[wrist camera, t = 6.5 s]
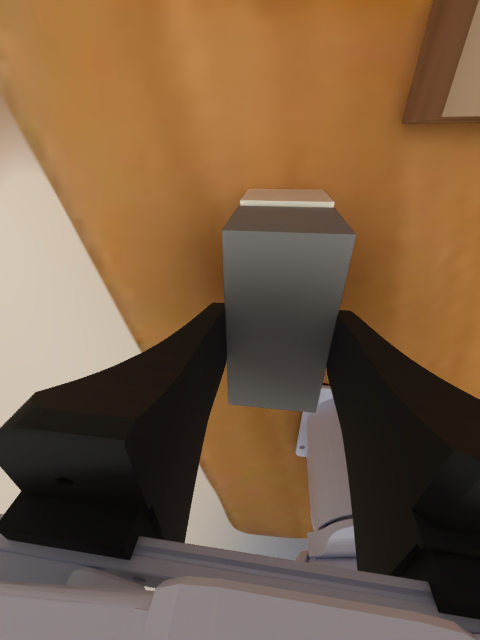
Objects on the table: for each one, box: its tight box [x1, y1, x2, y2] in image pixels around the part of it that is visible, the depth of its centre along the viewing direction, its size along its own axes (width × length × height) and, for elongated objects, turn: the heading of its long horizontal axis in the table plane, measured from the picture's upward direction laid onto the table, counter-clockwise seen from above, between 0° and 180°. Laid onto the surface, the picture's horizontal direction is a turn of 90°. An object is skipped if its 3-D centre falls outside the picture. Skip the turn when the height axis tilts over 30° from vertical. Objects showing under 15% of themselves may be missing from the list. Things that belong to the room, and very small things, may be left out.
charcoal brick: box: [222, 206, 356, 413], centre depth 12 cm, size 8×4×4 cm, turn 0°
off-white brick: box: [240, 189, 335, 208], centre depth 16 cm, size 8×4×4 cm, turn 0°
